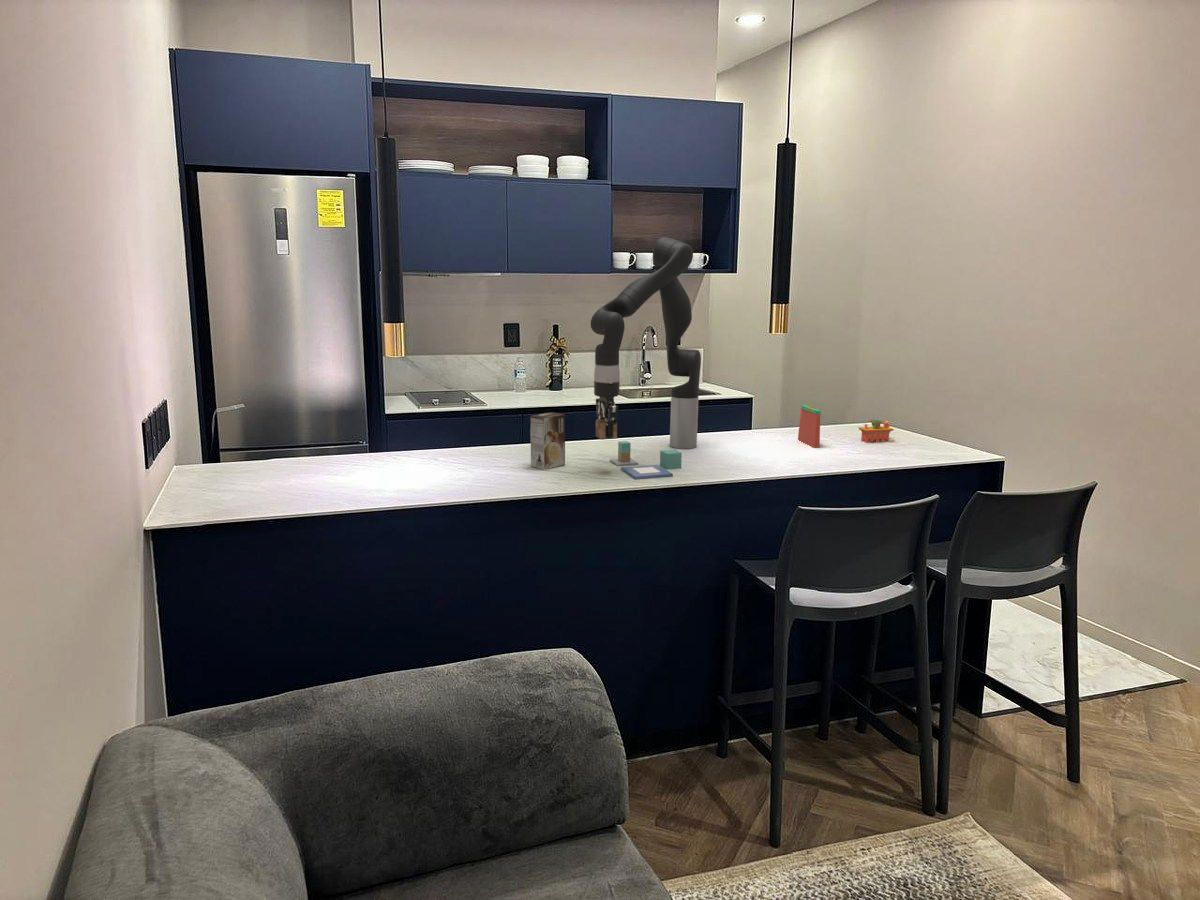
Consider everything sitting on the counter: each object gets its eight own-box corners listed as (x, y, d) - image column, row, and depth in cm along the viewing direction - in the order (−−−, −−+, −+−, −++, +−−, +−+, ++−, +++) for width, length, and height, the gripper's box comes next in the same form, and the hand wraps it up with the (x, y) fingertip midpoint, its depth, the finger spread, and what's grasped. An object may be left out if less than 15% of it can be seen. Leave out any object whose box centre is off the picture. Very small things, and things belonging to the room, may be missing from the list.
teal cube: (659, 466, 271) (660, 450, 270) (674, 464, 273) (675, 449, 272) (666, 469, 267) (666, 453, 266) (681, 468, 268) (681, 452, 267)
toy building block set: (797, 441, 310) (800, 401, 307) (885, 437, 319) (888, 399, 316) (814, 448, 299) (817, 407, 295) (904, 444, 307) (908, 404, 304)
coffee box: (551, 461, 275) (551, 411, 271) (565, 465, 270) (565, 414, 267) (529, 466, 268) (529, 415, 264) (544, 470, 264) (544, 418, 260)
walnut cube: (595, 436, 263) (595, 419, 261) (611, 435, 264) (611, 418, 263) (600, 439, 258) (601, 423, 257) (616, 438, 260) (617, 422, 258)
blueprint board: (620, 469, 266) (621, 466, 265) (657, 467, 269) (657, 464, 269) (635, 479, 254) (635, 476, 254) (672, 476, 258) (673, 473, 258)
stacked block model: (609, 461, 276) (610, 440, 275) (630, 459, 278) (630, 439, 277) (617, 466, 270) (617, 445, 268) (638, 464, 272) (638, 444, 271)
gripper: (587, 376, 262) (587, 431, 266) (602, 384, 249) (602, 441, 253) (610, 375, 265) (610, 430, 269) (627, 382, 251) (626, 440, 256)
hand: (606, 435), depth 261 cm, fingers closed on walnut cube, 5 cm apart
